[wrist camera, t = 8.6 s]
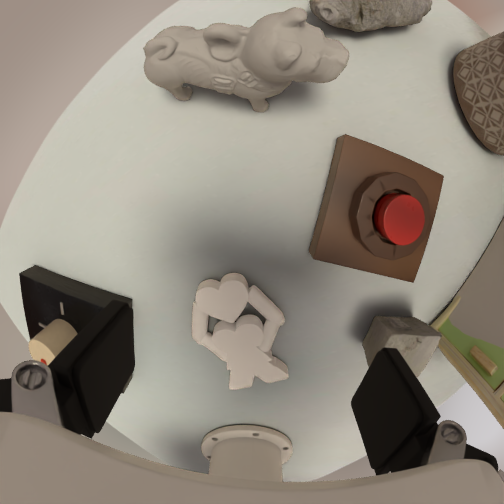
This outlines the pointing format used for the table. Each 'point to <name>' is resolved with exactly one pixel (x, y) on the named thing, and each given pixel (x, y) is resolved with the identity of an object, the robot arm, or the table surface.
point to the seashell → (370, 13)
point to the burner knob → (51, 341)
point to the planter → (483, 90)
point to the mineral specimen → (402, 340)
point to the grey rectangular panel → (484, 296)
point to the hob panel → (61, 301)
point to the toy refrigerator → (474, 362)
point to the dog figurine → (244, 57)
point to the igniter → (371, 209)
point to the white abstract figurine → (239, 329)
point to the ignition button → (399, 218)
